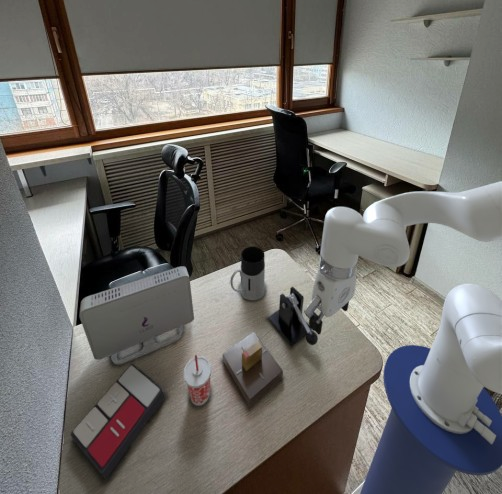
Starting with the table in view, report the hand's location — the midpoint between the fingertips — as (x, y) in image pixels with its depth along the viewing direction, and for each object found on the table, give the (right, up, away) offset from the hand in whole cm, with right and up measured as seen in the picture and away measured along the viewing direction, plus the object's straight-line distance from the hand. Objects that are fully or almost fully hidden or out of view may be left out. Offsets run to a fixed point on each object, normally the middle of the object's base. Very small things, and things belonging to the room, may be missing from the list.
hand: (328, 317), depth 64 cm
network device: (-47, -13, +12) cm, 51 cm away
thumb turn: (-18, -13, +3) cm, 23 cm away
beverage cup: (-31, -18, 0) cm, 35 cm away
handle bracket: (-7, -11, +15) cm, 20 cm away
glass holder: (-20, -7, +25) cm, 33 cm away
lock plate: (-18, -16, +4) cm, 24 cm away
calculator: (-47, -20, -5) cm, 51 cm away
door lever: (-5, -7, +11) cm, 14 cm away
